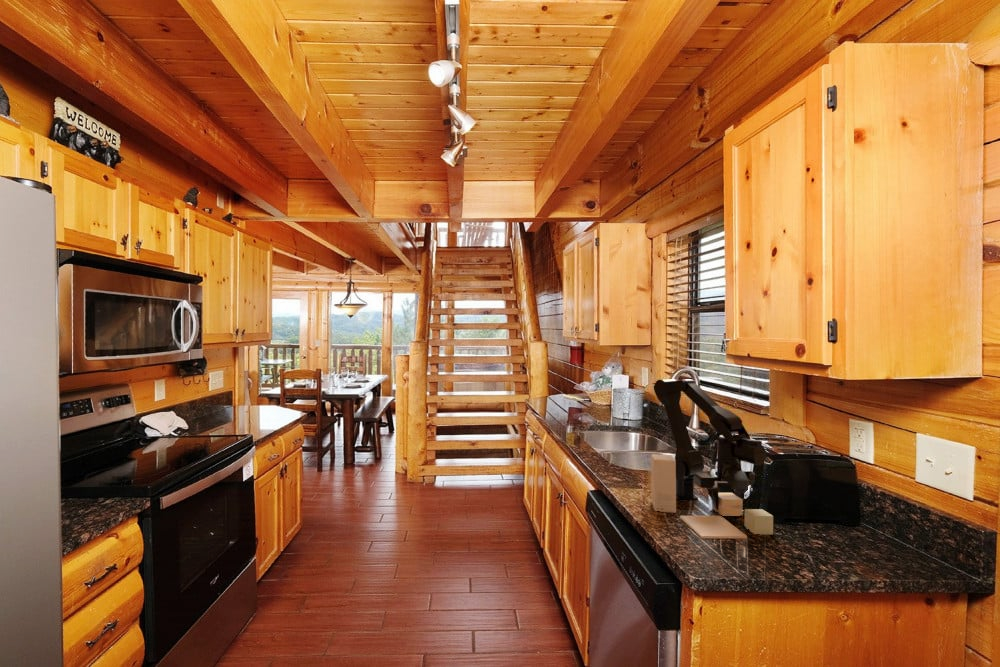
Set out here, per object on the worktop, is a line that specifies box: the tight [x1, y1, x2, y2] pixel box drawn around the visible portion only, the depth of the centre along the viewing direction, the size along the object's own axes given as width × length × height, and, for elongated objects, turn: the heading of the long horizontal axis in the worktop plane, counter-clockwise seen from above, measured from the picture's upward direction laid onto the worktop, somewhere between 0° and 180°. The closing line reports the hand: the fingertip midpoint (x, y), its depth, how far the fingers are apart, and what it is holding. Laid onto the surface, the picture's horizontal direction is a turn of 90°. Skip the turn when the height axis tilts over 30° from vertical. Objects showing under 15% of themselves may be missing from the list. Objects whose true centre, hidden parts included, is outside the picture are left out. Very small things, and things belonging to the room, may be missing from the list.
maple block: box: [712, 492, 744, 516], centre depth 144 cm, size 6×6×5 cm
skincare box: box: [650, 454, 677, 514], centre depth 147 cm, size 8×7×16 cm
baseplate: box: [679, 515, 748, 539], centre depth 132 cm, size 14×12×1 cm
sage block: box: [743, 508, 774, 535], centre depth 131 cm, size 5×5×5 cm
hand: (727, 509), depth 144 cm, fingers closed on maple block, 6 cm apart
